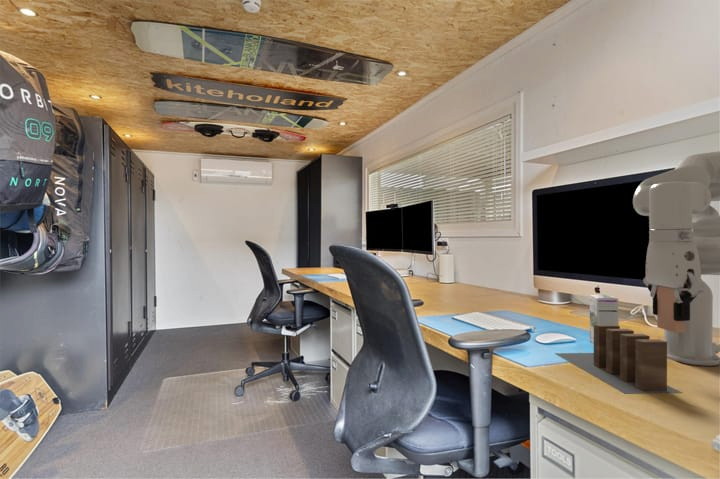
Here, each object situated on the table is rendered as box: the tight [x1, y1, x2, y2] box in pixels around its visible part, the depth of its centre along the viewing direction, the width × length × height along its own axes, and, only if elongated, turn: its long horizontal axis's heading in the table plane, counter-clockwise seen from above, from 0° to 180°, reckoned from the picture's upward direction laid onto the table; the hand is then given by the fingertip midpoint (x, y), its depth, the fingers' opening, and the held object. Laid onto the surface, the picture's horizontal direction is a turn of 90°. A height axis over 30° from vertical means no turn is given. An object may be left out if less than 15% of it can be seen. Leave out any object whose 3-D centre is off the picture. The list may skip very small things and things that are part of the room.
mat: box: [554, 352, 684, 395], centre depth 88 cm, size 12×26×1 cm, turn 1°
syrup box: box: [589, 294, 620, 345], centre depth 110 cm, size 6×6×14 cm
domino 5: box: [656, 286, 685, 333], centre depth 85 cm, size 2×5×10 cm, turn 1°
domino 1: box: [593, 324, 621, 368], centre depth 91 cm, size 2×5×10 cm, turn 91°
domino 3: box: [620, 333, 651, 383], centre depth 82 cm, size 2×5×10 cm, turn 91°
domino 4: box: [635, 338, 668, 391], centre depth 77 cm, size 2×5×10 cm, turn 91°
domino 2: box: [606, 328, 635, 375], centre depth 86 cm, size 2×5×10 cm, turn 91°
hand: (670, 316), depth 85 cm, fingers closed on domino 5, 4 cm apart
